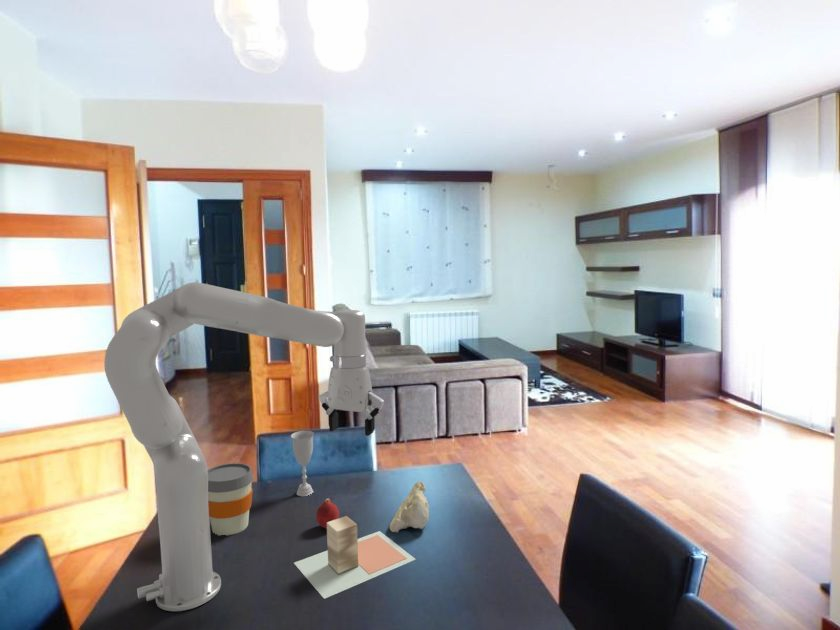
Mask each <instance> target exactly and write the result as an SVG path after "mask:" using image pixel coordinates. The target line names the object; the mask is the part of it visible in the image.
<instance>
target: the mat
mask: <svg viewBox="0 0 840 630" xmlns="http://www.w3.org/2000/svg"><path fill="white" fill-rule="evenodd" d="M415 560H417V559H416V558H415V557H414V556H412V555H411V554H410V553H409V552H407V551H406V550H404V549H403V547H401V546H399V545H398V544H397V543H396V542H394V541H393V540H392V539H391V538H389V537H388V536H387V535H385V534H384V533H383V532H382V531H380V530H379V531H376V532H373V533H371V534H367V535H364V536H362V537H359V538H358V567H357V568H354V569H352V570H350V571H347V572H345V573H342V574H340V575H338V574H337V573H336V572H335V571H334V570H333V569H332V568H331V567H330V566H329V565H328V549H327V550H324V551H322V552H319V553H317V554H314V555H311V556H308V557H306V558H303V559H300V560H297V561H295V562H293V564H294V565H295V566H296V568H297V569H298V570H299V571H300V573H301V574H303V576H304V578H305V579H307V580H308V582H309V583H310V584H311V585H312V586H313V588H314V589H315V591H317V592H318V593H319V595H320V596H321V597H322V598H323V599H328V598H330V597H332V596H335V595H336V594H340V593H341V592H343V591H346V590H349V589H351V588H353V587H355V586H358V585H360V584H363V583H364V582H367V581H369V580H372V579H374V578H376V577H379V576H380V575H384V574H386V573H387V572H391V571H393V570H395V569H396V568H400V567H402V566H404V565H406V564H407V565H408V564H409V563H411V562H414V561H415Z"/></svg>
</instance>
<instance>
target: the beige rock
mask: <svg viewBox="0 0 840 630" xmlns="http://www.w3.org/2000/svg"><path fill="white" fill-rule="evenodd" d="M426 489H427V488H426V485H425V483H424V482H423V481H417V482H415V483H414V485H413V486H412V488H411V490H410V492H409V494H408V495H407V496H406V498H405V499H404V500H403V501H402V503H401V504H400V506H399V507H398V509H397V511H396V512H395V514H394V517H393V518H392V520H391V522H390V523H389V530H390V532H392V533H399V531H400V530H403V529H408V528H413V529H420V530H423V529H424V527H425V526H427V525H428V522H429V519H430V518H429V517H430V510H429V509H430V505H429V502H428V500H429V499H428V498H427V497H426V496H425V492H426V491H427V490H426Z"/></svg>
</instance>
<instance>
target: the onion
mask: <svg viewBox="0 0 840 630" xmlns="http://www.w3.org/2000/svg"><path fill="white" fill-rule="evenodd" d="M315 517H316V518H315V519H316V521H317V523H318V525H319V526H321V527H322V528H323V529H326V530H327V522H330V521H333V520H336V519H339V518H340V511H339V509H338V506H337V504H334V503H333V502H331V499H330V498H326V499H325V501H324V502H323V503H321V505H319V506H318V508H317V510H316V516H315Z"/></svg>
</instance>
